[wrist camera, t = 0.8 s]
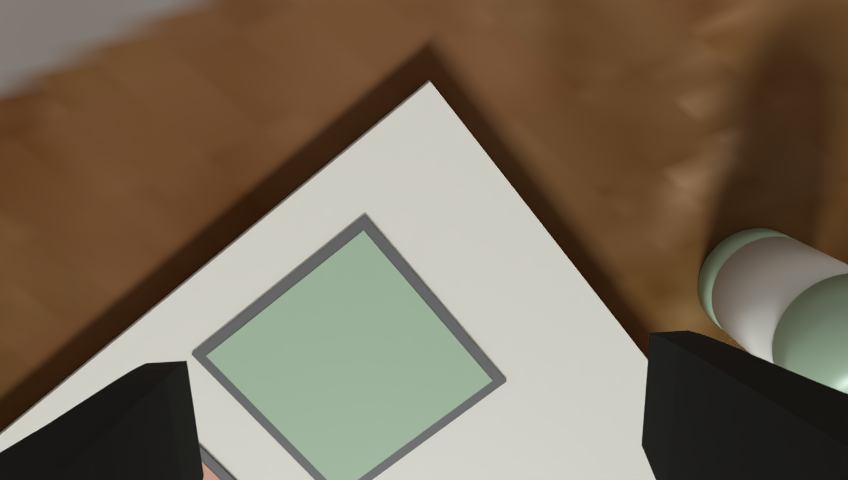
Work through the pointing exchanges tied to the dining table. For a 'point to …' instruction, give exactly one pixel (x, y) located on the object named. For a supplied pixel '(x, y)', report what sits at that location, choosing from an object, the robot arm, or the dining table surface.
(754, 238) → the green bulb-shaped piece
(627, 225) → the dining table surface
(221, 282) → the colouring board
